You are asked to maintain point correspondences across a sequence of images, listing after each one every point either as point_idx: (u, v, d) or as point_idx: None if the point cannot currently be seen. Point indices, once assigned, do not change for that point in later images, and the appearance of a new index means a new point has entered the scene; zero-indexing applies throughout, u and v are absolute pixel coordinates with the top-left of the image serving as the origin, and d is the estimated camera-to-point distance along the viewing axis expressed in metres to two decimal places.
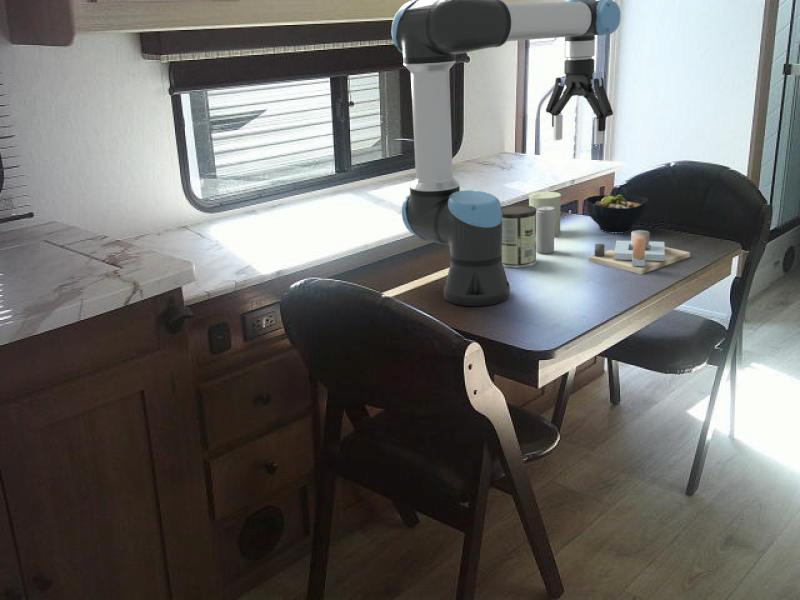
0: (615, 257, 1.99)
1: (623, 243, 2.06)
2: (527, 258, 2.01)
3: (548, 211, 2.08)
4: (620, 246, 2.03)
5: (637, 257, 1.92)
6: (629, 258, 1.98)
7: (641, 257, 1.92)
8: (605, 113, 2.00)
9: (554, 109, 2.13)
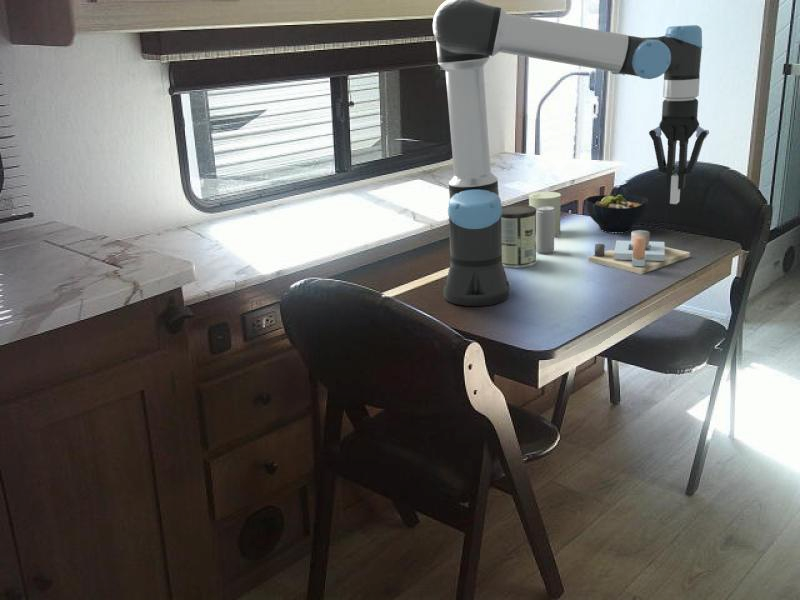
0: (615, 257, 1.99)
1: (623, 243, 2.06)
2: (527, 258, 2.01)
3: (548, 211, 2.08)
4: (620, 246, 2.03)
5: (637, 257, 1.92)
6: (629, 258, 1.98)
7: (641, 257, 1.92)
8: (690, 170, 1.80)
9: (668, 167, 1.82)
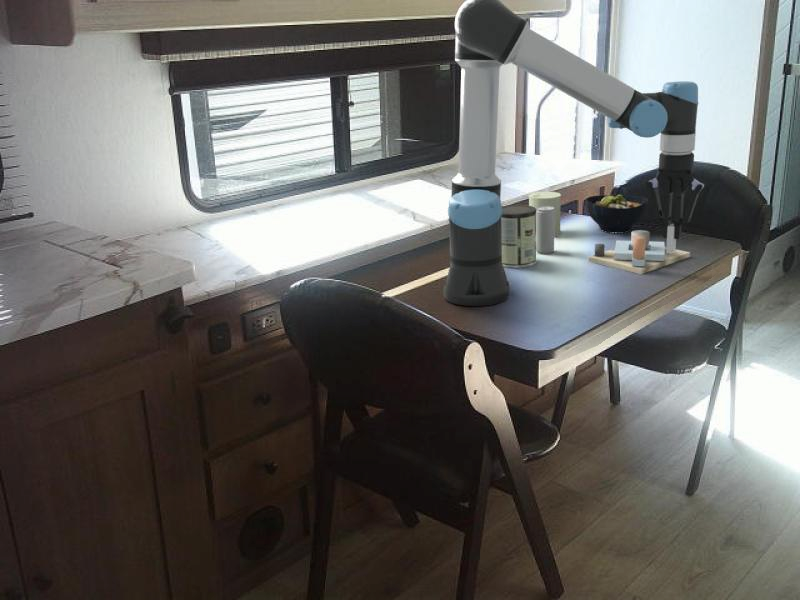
0: (615, 257, 1.99)
1: (623, 243, 2.06)
2: (527, 258, 2.01)
3: (548, 211, 2.08)
4: (620, 246, 2.03)
5: (637, 257, 1.92)
6: (629, 258, 1.98)
7: (641, 257, 1.92)
8: (685, 221, 1.84)
9: (665, 218, 1.86)
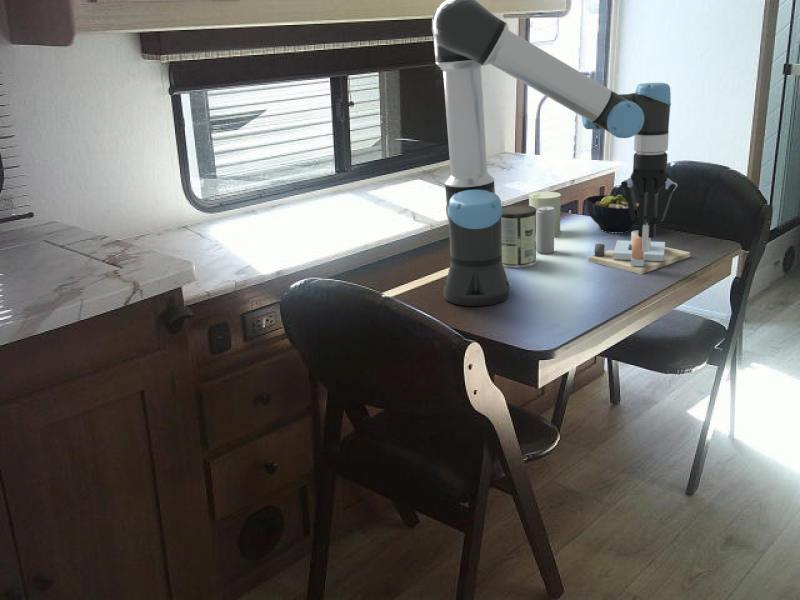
0: (614, 257, 1.99)
1: (623, 243, 2.06)
2: (527, 258, 2.01)
3: (548, 211, 2.08)
4: (620, 246, 2.03)
5: (636, 257, 1.92)
6: (628, 258, 1.98)
7: (640, 257, 1.92)
8: (659, 220, 1.86)
9: (640, 217, 1.89)
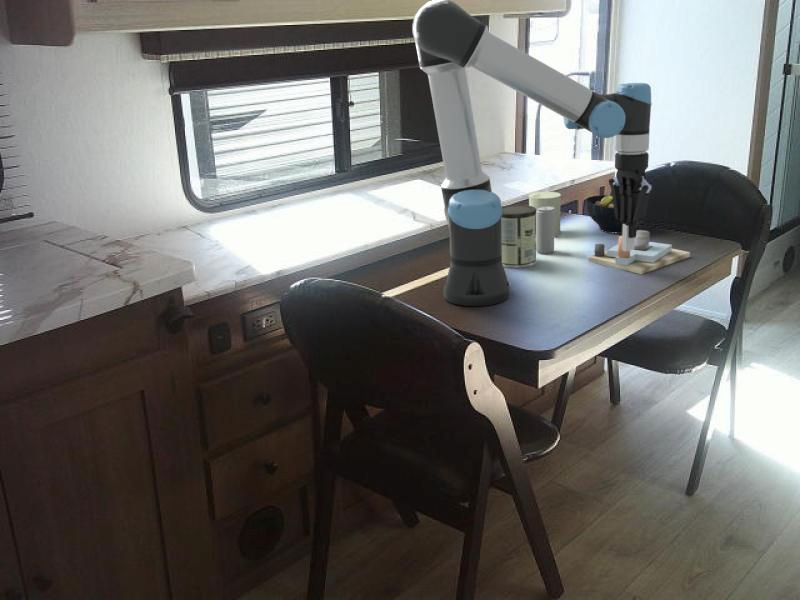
0: (608, 254, 2.01)
1: None
2: (527, 258, 2.01)
3: (548, 211, 2.08)
4: None
5: (620, 255, 1.94)
6: None
7: (624, 256, 1.94)
8: (634, 221, 1.87)
9: (621, 215, 1.90)
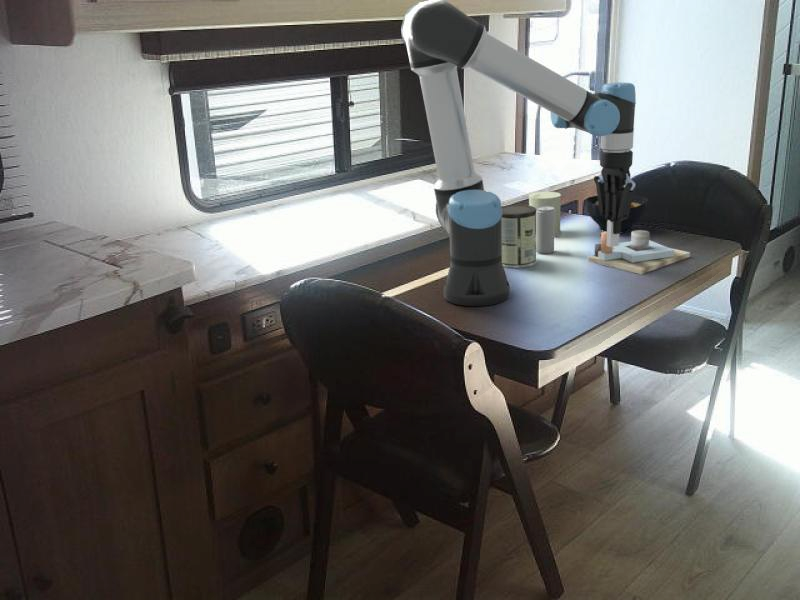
0: None
1: None
2: (527, 258, 2.01)
3: (548, 211, 2.08)
4: (629, 243, 2.06)
5: (601, 250, 1.99)
6: None
7: (603, 251, 1.98)
8: (619, 217, 1.91)
9: (606, 212, 1.95)
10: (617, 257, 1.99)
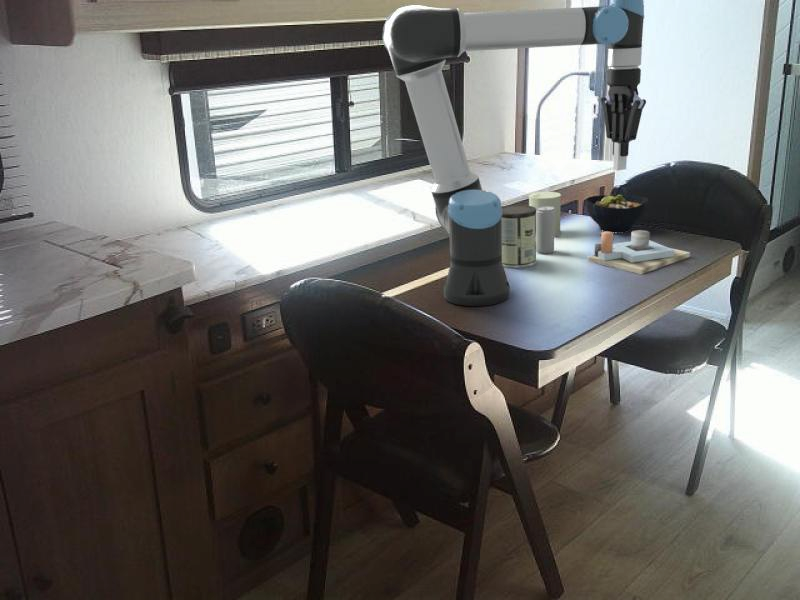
0: None
1: None
2: (527, 258, 2.01)
3: (548, 211, 2.08)
4: (629, 243, 2.06)
5: (601, 250, 1.99)
6: None
7: (603, 251, 1.98)
8: (626, 138, 1.85)
9: (613, 134, 1.89)
10: (617, 257, 1.99)
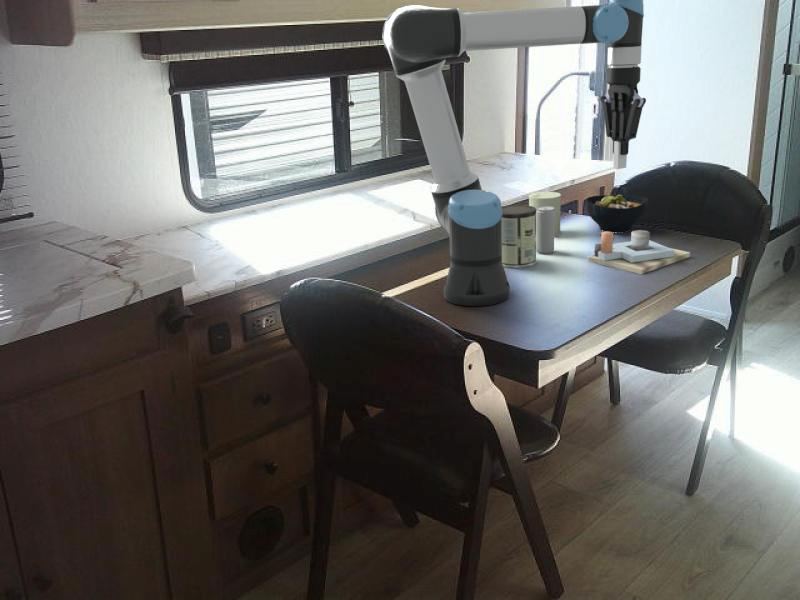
0: None
1: None
2: (527, 258, 2.01)
3: (548, 211, 2.08)
4: (629, 243, 2.06)
5: (601, 250, 1.99)
6: None
7: (603, 251, 1.98)
8: (626, 137, 1.85)
9: (613, 132, 1.89)
10: (617, 257, 1.99)
